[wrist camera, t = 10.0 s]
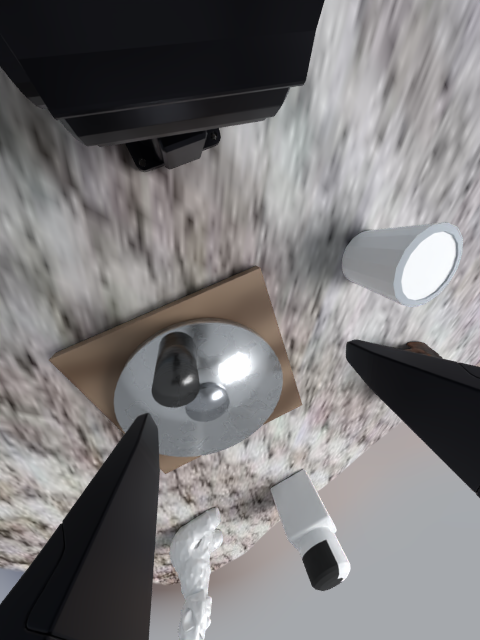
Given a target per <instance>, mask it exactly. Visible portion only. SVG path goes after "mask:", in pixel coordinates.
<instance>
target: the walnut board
mask: <svg viewBox="0 0 480 640" xmlns="http://www.w3.org/2000/svg"><path fill="white" fill-rule="evenodd" d="M201 318H219V319H226V320H231V321H234V322H238V323H240V324H243V325H245V326H247V327H249V328H251V329H252V330H254V331H255V332H257V333H258V334H259V335H260V336H261V337H263V338H264V340H265V341H266V342H267V343H268V344H269V346H270V347H271V348H272V350H273V351H274V352H275V354H276V356H277V358H278V360H279V362H280V365H281V369H282V373H283V385H282V391H281V395H280V398H279V401H278V403H277V405H276V407H275V409H274V411H273V412H272V414H271V415H270V417H269V418H268V419H267V420H266V421H265V423H264V424H266V423H267V422H269V421H271V420H273V419H275V418H277V417H279V416H281V415H283V414H285V413H287V412H289V411H291V410H293V409H295V408H297V407H299V406H301V405H302V402H301V399H300V396H299V392H298V389H297V386H296V383H295V379H294V376H293V373H292V370H291V366H290V363H289V360H288V357H287V353H286V350H285V347H284V344H283V340H282V337H281V334H280V331H279V327H278V324H277V321H276V317H275V314H274V311H273V308H272V304H271V301H270V298H269V295H268V291H267V288H266V285H265V282H264V278H263V275H262V272H261V269H260V268H259V267H257V266H255V267H252V268H250V269H248V270H245V271H243V272H241V273H238V274H236V275H234V276H232V277H229V278H227V279H225V280H222V281H220V282H218V283H215V284H213V285H211V286H209V287H206V288H204V289H202V290H199V291H197V292H195V293H192V294H190V295H188V296H185V297H183V298H181V299H179V300H176V301H174V302H172V303H169V304H167V305H165V306H162V307H160V308H158V309H155V310H153V311H151V312H149V313H146V314H144V315H142V316H139V317H137V318H135V319H132V320H130V321H128V322H126V323H123V324H121V325H119V326H116V327H114V328H112V329H109V330H107V331H105V332H102V333H100V334H98V335H96V336H93V337H91V338H89V339H86V340H84V341H82V342H79V343H77V344H75V345H72V346H70V347H68V348H66V349H63V350H61V351H59V352H56V353H55V354H54V355H53V356H52V357H51V358H50V359H49V361H50V362H51V363H52V364H53V365H54V366H55V367H56V368H57V369H58V370H59V371H60V372H62V373H63V374H64V375H65V376H66V377H67V378H68V379H69V380H70V381H71V382H72V383H73V384H74V385H75V386H76V387H77V388H78V389H79V390H80V391H81V392H82V393H83V394H84V395H85V396H86V397H87V398H88V399H89V400H90V401H91V402H92V403H93V404H94V405H95V406H96V407H97V408H98V409H99V410H100V411H102V412H103V413H104V414H105V415H106V416H107V417H108V418H109V419H110V420H111V421H112V422H113V423H114V424H115V425H116V426H117V427H118V428H119V429H120V430H121V431H122V432H123V433H124V434H125V432H124V431H123V430H122V428H121V426H120V424H119V423H118V421H117V417H116V414H115V409H114V393H115V389H116V386H117V382H118V380H119V377H120V375H121V372H122V370H123V368H124V366H125V364H126V362H127V360H128V359H129V357H130V356H131V354H132V353H133V352H134V351H135V350H136V349H137V348H138V347H139V345H141V344H142V343H143V342H144V341H145V340H147V339H148V338H149V337H151V336H152V335H154V334H155V333H157V332H158V331H160V330H162V329H165V328H167V327H169V326H171V325H174V324H177V323H180V322H183V321H188V320H192V319H201ZM264 424H263V425H264ZM198 457H200V456H194V457H175V456H167V455H162V454H159V463H160V469H161V470H162V471H163V472H164V473H165V474H166V473H168V472H170V471H172V470H174V469H176V468H178V467H180V466H182V465H184V464H186V463H188V462H190V461H192V460H194V459H196V458H198Z"/></svg>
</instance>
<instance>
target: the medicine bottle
mask: <svg viewBox="0 0 480 640" xmlns="http://www.w3.org/2000/svg"><path fill="white" fill-rule="evenodd" d="M271 493H272V496H273V499H274V502H275V505H276V507H277V510H278V513H279V516H280V519H281V522H282V525H283V528H284V530H285V533H286V536H287V539H288V540H289V542H290V543H291V544H292V545H293V546H294V547H295V548H296V549H297V550H298V551H299V552H300V555H301V558H302V560H303V563H304V566H305V568H306V571H307V574H308V576H309V579H310V582H311V585H312V587H314V588H315V589H317V590H321V591H325V590H328V589H331V588H333V587H335V586H336V585H338V584H339V583H341V582H342V581H343V580H345V578H346V577H347V576H348V574H349V571H350V563H349V561H348V559H347V557H346V555H345V553H344V551H343V549H342V547H341V545H340V543H339V541H338V539H337V538H336V535H335V532H336V531H337V530H336V527H335V525H334V523H333V521H332V519H331V517H330V515H329V513H328V511H327V510H326V508H325V506H324V504H323V502H322V500H321V498H320V496H319V494H318V492H317V490H316V489H315V487H314V485H313V483H312V481H311V479H310V477H309V476H308V474H307V472H306V470H305V469H302V470H301V471H299V472H297V473H296V474H294V475H292V476H290V477H289V478H287V479H285V480H284V481H282V482H280V483H278V484H277V485H275V486H273V487H272V488H271Z"/></svg>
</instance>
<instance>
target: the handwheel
mask: <svg viewBox="0 0 480 640" xmlns="http://www.w3.org/2000/svg"><path fill="white" fill-rule="evenodd" d="M282 385H283V373H282V369H281V365H280V362H279V360H278V358H277V356H276V354H275V352H274V351H273V350H272V348H271V347H270V346H269V344H268V343H267V342H266V341H265V340H264V338H263V337H261V336H260V335H259V334H258V333H257V332H255V331H254V330H252V329H251V328H249V327H247V326H245V325H243V324H240V323H238V322H234V321H231V320H226V319H219V318H201V319H192V320H188V321H183V322H180V323H177V324H174V325H171V326H169V327H167V328H165V329H162V330H160V331H158V332H157V333H155V334H154V335H152V336H151V337H149V338H148V339H147V340H145V341H144V342H143V343H142V344H141V345H139V347H138V348H137V349H136V350H135V351H134V352H133V353H132V354H131V356H130V357H129V359H128V360H127V362H126V364H125V366H124V368H123V370H122V372H121V375H120V377H119V380H118V382H117V386H116V389H115V393H114V409H115V414H116V417H117V421H118V423H119V424H120V426H121V428H122V430H123V431H124V432H125V433H126V432H127V430H128V429H129V427H130V426H131V425H132V423H133V422H134V420H135V419H136V418H137V417H138V416H139V415H142V414H145V413H149V414H150V415H151V416H152V418H153V420H154V421H155V423H156V425H157V428H158V438H159V454H162V455H167V456H175V457H194V456H202V455H207V454H211V453H215V452H218V451H221V450H224V449H227V448H229V447H231V446H234V445H235V444H237V443H239V442H241V441H243V440H244V439H246V438H247V437H249V436H250V435H251V434H253V433H254V432H255V431H256V430H258V429H259V428H260V427H261V426H262V425H263V424H264V423H265V421H266V420H267V419H268V418H269V417H270V415H271V414H272V412H273V411H274V409H275V407H276V405H277V403H278V401H279V398H280V395H281V391H282Z"/></svg>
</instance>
